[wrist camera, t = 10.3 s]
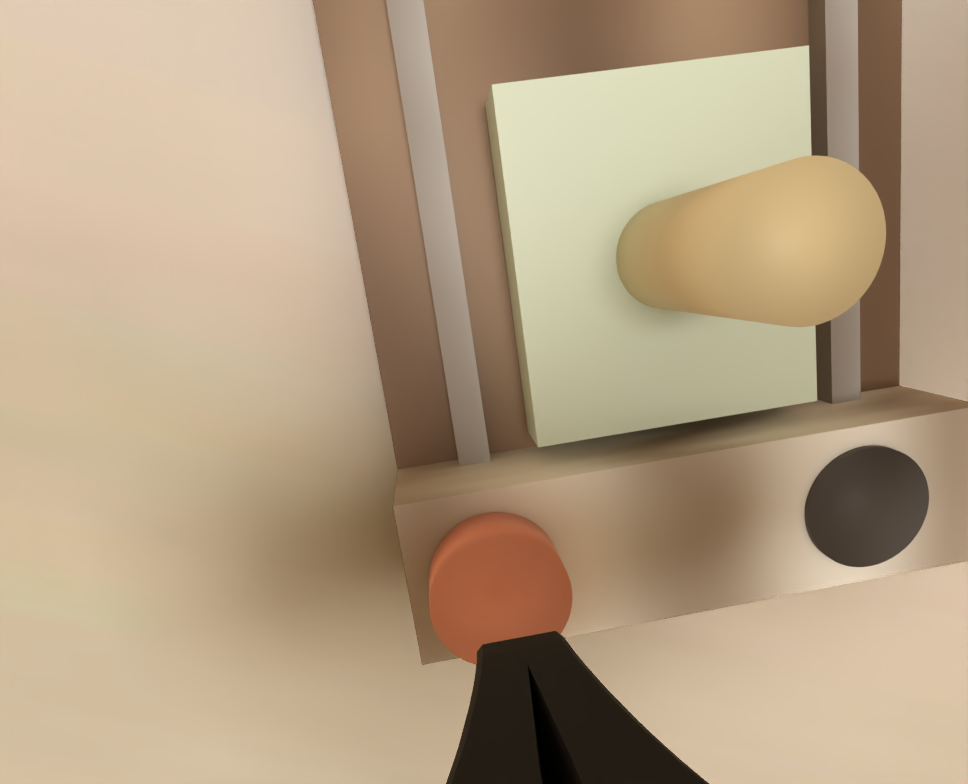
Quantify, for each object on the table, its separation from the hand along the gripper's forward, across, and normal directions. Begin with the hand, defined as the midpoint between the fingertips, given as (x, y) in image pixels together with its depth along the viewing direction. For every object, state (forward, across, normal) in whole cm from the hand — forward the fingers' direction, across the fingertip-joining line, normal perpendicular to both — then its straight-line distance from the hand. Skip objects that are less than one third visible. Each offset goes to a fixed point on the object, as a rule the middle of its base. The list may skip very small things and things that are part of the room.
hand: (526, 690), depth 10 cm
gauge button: (+4, 0, 0) cm, 4 cm away
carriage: (+6, -5, -6) cm, 10 cm away
